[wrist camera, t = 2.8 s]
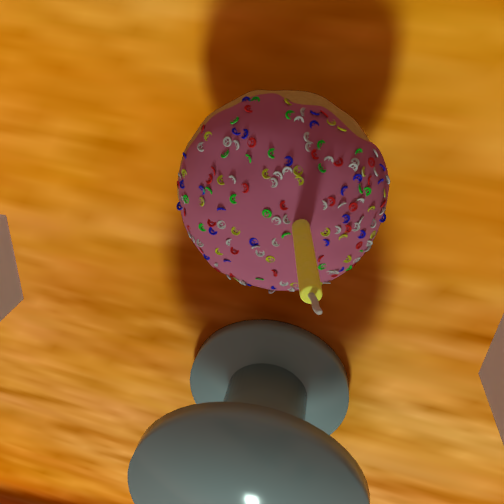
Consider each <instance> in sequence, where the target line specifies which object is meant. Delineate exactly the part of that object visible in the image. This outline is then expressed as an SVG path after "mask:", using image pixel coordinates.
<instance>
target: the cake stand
mask: <svg viewBox="0 0 504 504" xmlns="http://www.w3.org/2000/svg"><path fill="white" fill-rule="evenodd" d="M190 386H191V391H192V395H193V397H194V400H195V402H196V404H194V405H189V406H186V407H183V408H179V409H177V410H174V411H172V412H170V413H168V414H166V415H164V416H163V417H161V418H159V419H158V420H156V421H155V422H154V423H153V424H152V425H151V426H150V427H149V428H148V429H147V430H146V432H145V433H144V434H143V436H142V437H141V439H140V442H139V444H138V446H137V448H136V450H135V452H134V454H133V457H132V459H131V461H130V464H129V469H128V485H129V491H130V494H131V496H132V499H133V501H134V503H135V504H370V493H369V489H368V484H367V481H366V479H365V476H364V474H363V472H362V470H361V468H360V467H359V465H358V464H357V462H356V461H355V459H354V458H353V457H352V456H351V455H350V453H349V452H348V451H347V450H346V449H345V448H344V447H343V446H342V445H341V444H339V443H338V442H337V441H336V440H335V439H334V438H332V437H331V436H329V435H330V434H332V433H333V432H334V431H335V430H336V429H337V428H338V427H339V425H340V424H341V423H342V421H343V419H344V417H345V415H346V412H347V409H348V403H349V383H348V377H347V373H346V370H345V368H344V365H343V364H342V362H341V360H340V359H339V357H338V356H337V355H336V353H335V352H334V351H333V350H332V349H331V348H330V347H329V346H328V345H327V344H326V343H325V342H324V341H322V340H321V339H320V338H318V337H317V336H315V335H314V334H312V333H310V332H309V331H306V330H304V329H302V328H300V327H297V326H294V325H291V324H288V323H284V322H279V321H273V320H247V321H241V322H237V323H233V324H231V325H228V326H225V327H223V328H222V329H220V330H218V331H216V332H215V333H214V334H212V335H211V336H210V337H209V338H208V339H207V340H206V341H205V342H204V343H203V345H202V346H201V348H200V350H199V352H198V354H197V356H196V358H195V361H194V363H193V366H192V369H191V375H190Z"/></svg>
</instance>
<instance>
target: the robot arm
mask: <svg viewBox="0 0 504 504" xmlns="http://www.w3.org/2000/svg"><path fill="white" fill-rule="evenodd" d="M23 299H24V298H23V294H22V289H21V284H20V279H19V275H18V270H17V265H16V260H15V256H14V251H13V246H12V241H11V236H10V232H9V227H8V222H7V217H6V215H0V321H1V320H2V319H3V318H4V317H5V316H6V315H7V314H8V313H9V312H10V311H11V310H12V309H13V308H15V307H16V306H17V305H18V304H19V303H20V302H21V301H22V300H23ZM479 376H480V379H481V382H482V385H483V387H484V390H485V393H486V396H487V399H488V402H489V405H490V407H491V410H492V413H493V416H494V419H495V422H496V424H497V427H498V430H499V433H500V436H501V439H502V441H503V444H504V314H503V317H502V319H501V321H500V324H499V326H498V328H497V331H496V333H495V336H494V338H493V340H492V343H491V345H490V347H489V350H488V352H487V355H486V357H485V359H484V362H483V364H482V366H481V369H480V371H479Z"/></svg>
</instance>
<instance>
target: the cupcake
mask: <svg viewBox="0 0 504 504" xmlns="http://www.w3.org/2000/svg"><path fill="white" fill-rule="evenodd" d="M389 184H390V179H389V176H388V172H387V168H386V165H385V162H384V159H383V156H382V154H381V152H380V151H379V149H378V148H377V147H376V145H374V144H373V143H371V142H370V141H369V140H368V138H367V136H366V135H365V133H364V132H363V130H362V129H361V127H360V126H359V124H358V123H357V122H356V121H355V120H354V119H353V118H352V117H351V116H350V115H348V114H347V113H345V112H344V111H342V110H341V109H339V108H338V107H337V106H335V105H334V104H333V103H331V102H330V101H328V100H327V99H325V98H324V97H322V96H320V95H317V94H314V93H310V92H305V91H293V90H279V91H269V90H254V91H251V92H248V93H246V94H244V95H242V96H240V97H238V98H237V99H235V100H233V101H231V102H229V103H227V104H225V105H224V106H222V107H220V108H219V109H217V110H215V111H214V112H212V113H211V114H210V115H209V116H207V117H206V119H205V120H204V121H203V122H202V124H201V125H200V127H199V128H198V130H197V131H196V133H195V134H194V136H193V137H192V139H191V140H190V142H189V143H188V145H187V147H186V149H185V151H184V153H183V157H182V161H181V165H180V170H179V173H178V181H177V186H178V198H179V202H178V204H177V209H178V210H181V214H182V218H183V222H184V225H185V228H186V230H187V232H188V234H189V237H190V238H191V240H192V241H193V243H194V244H195V246H196V247H197V248H198V250H199V251H200V252H201V253H202V255H203V256H204V258H205V259H206V260H207V261H208V263H209V264H210V265H211V266H212V267H213V268H214V269H216V270H217V271H218V272H222V273H224V274H226V275H227V277H228V278H229V279H230V280H231V278H230V277H229V276H231V277H233V278H234V279H235V280H237V281H238V282H239V283H240V284H242V285H245V286H246V285H248V286H251V285H253V286H256V287H260V288H265V289H269V291H268V292H269V293H270V294H271V293H274V292H275V290H279V291H282V290H286V291H290V292H294V291H295V290H299V294H300V298H301V299H302V301H304V302H305V303H308V304H312V308H313V310H314V312H315V313H316V314H318V315H321V314H322V309H321V308H320V306H319V300H320V299H321V298H322V287H321V285H322V284H323V283H326V284H331V282H328V281H331V280H333V279H335V278H337V277H339V276H340V275H342V274H343V273H345V272H346V271H348V270H350V269H352V268H353V267H354V266H355V264H356V263H357V262H358V261H359V260H360V258H361V257H362V256H363V255H364V253H365V252H367V251H368V250H369V249H370V248H371V245H372V244H373V242H372V241H373V239H374V237H375V236H376V233H377V231H378V229H379V226H380V223H381V222H384V221H385V219H386V215H385V214H384V213H385V209H386V203H387V197H388V190H389ZM179 204H180V205H179ZM179 206H180V208H179ZM383 216H384V219H383ZM241 282H242V283H241ZM270 290H271V291H272V292H270Z"/></svg>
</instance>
